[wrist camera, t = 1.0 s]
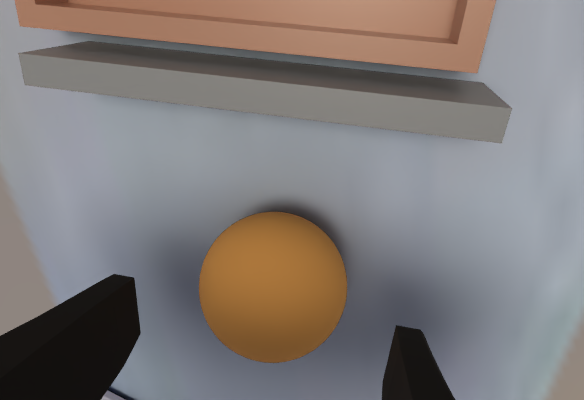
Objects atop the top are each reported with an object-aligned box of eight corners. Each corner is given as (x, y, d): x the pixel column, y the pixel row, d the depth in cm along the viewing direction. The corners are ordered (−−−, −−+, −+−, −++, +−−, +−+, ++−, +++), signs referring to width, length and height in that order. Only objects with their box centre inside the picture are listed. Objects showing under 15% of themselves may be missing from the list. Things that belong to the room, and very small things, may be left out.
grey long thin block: (475, 110, 12) (501, 143, 10) (92, 67, 14) (24, 85, 11) (483, 82, 12) (512, 108, 9) (88, 41, 14) (18, 53, 11)
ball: (311, 317, 17) (289, 421, 13) (207, 259, 17) (151, 347, 12) (377, 231, 15) (376, 323, 11) (259, 164, 14) (212, 232, 10)
